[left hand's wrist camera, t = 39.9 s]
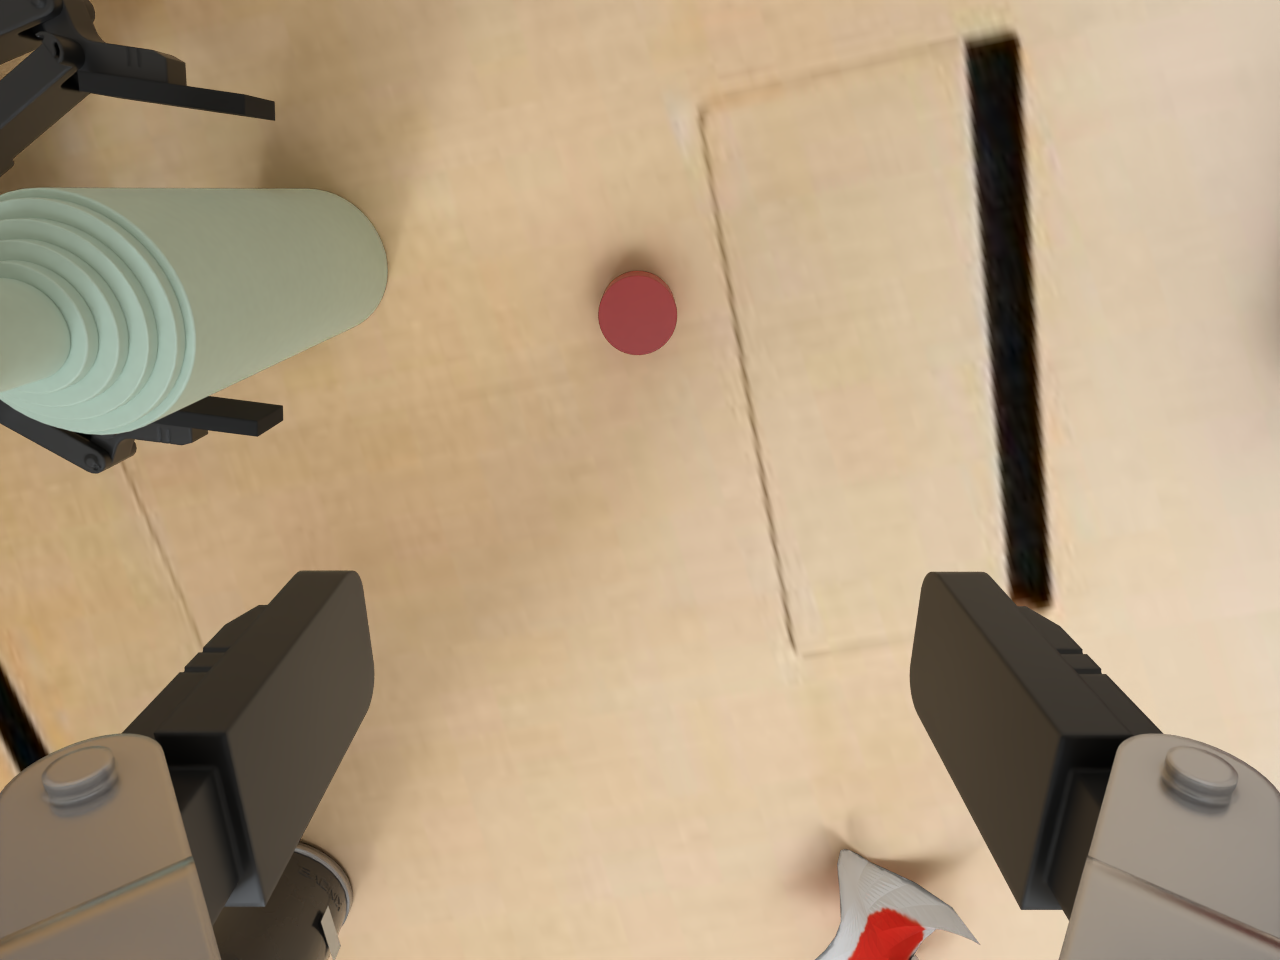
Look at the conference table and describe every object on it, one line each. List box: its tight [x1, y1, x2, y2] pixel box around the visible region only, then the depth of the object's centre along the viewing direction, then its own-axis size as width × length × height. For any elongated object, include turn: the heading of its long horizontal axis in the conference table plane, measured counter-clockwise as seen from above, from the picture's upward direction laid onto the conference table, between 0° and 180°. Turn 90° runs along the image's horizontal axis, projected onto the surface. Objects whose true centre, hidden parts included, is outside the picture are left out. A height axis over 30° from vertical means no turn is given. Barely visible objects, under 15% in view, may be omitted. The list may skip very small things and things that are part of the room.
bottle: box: [0, 188, 388, 435], centre depth 29 cm, size 7×7×24 cm
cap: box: [598, 271, 677, 355], centre depth 40 cm, size 4×4×2 cm
